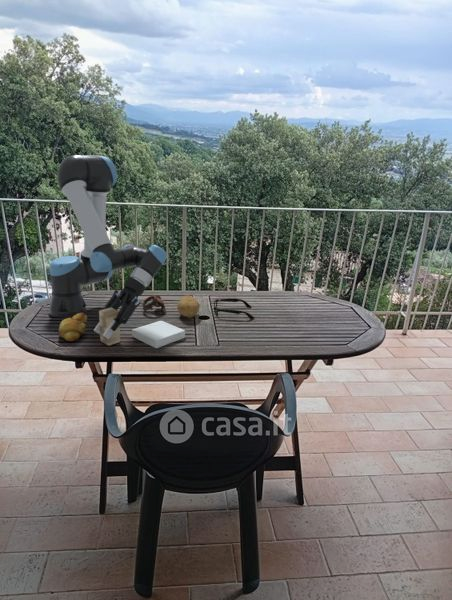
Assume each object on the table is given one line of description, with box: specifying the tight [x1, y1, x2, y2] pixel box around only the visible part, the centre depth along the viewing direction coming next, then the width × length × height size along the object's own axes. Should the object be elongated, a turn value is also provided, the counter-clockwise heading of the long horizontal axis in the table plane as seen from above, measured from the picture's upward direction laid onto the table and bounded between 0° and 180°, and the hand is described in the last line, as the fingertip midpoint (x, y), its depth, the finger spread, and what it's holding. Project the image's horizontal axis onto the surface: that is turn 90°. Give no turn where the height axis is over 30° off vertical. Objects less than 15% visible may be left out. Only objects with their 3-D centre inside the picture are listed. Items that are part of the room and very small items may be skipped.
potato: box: [176, 295, 201, 319], centre depth 183 cm, size 10×14×8 cm
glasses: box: [213, 298, 255, 320], centre depth 190 cm, size 17×18×5 cm
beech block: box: [98, 308, 121, 346], centre depth 153 cm, size 5×5×12 cm
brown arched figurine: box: [141, 294, 167, 314], centre depth 188 cm, size 12×10×8 cm
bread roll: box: [58, 313, 88, 342], centre depth 157 cm, size 13×10×8 cm
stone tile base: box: [131, 320, 186, 349], centre depth 161 cm, size 14×14×3 cm
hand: (101, 334), depth 151 cm, fingers closed on beech block, 5 cm apart
